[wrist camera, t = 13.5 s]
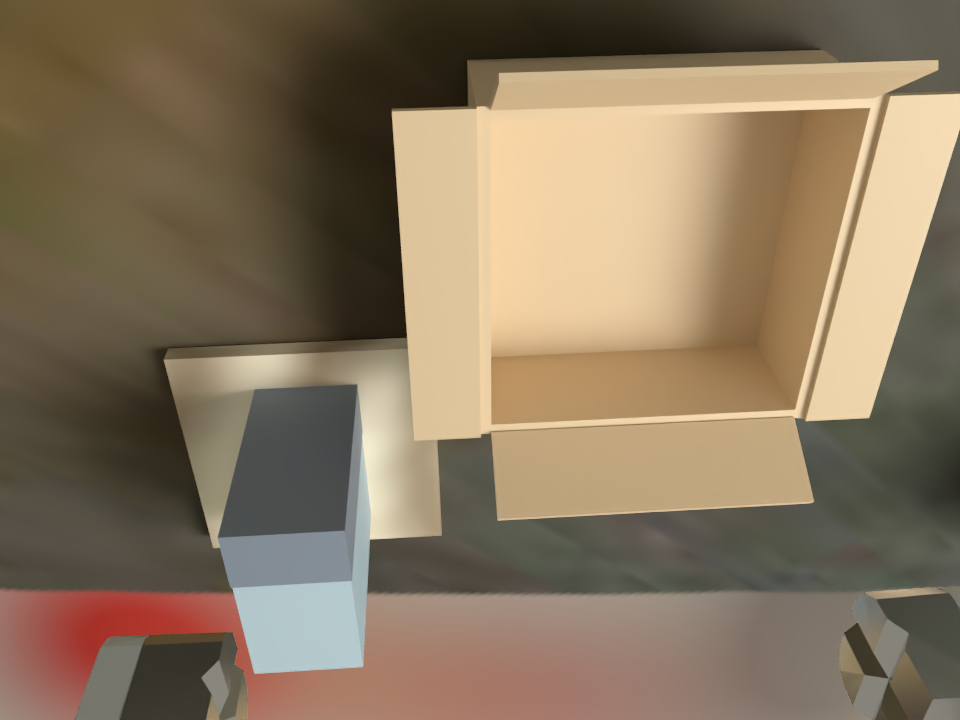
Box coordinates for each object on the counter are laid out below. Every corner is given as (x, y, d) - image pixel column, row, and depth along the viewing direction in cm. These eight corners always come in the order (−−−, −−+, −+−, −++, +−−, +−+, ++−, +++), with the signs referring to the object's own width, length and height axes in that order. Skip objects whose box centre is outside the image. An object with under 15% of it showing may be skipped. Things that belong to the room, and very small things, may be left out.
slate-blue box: (357, 384, 43) (344, 530, 35) (372, 513, 48) (364, 668, 40) (254, 389, 43) (217, 537, 35) (280, 519, 48) (252, 675, 40)
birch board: (432, 336, 43) (432, 347, 42) (441, 522, 50) (441, 535, 50) (168, 348, 42) (163, 359, 42) (216, 535, 50) (213, 548, 49)
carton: (905, -6, 35) (1047, 58, 27) (808, 376, 46) (890, 501, 38) (390, 7, 34) (385, 77, 26) (415, 395, 45) (417, 527, 37)
